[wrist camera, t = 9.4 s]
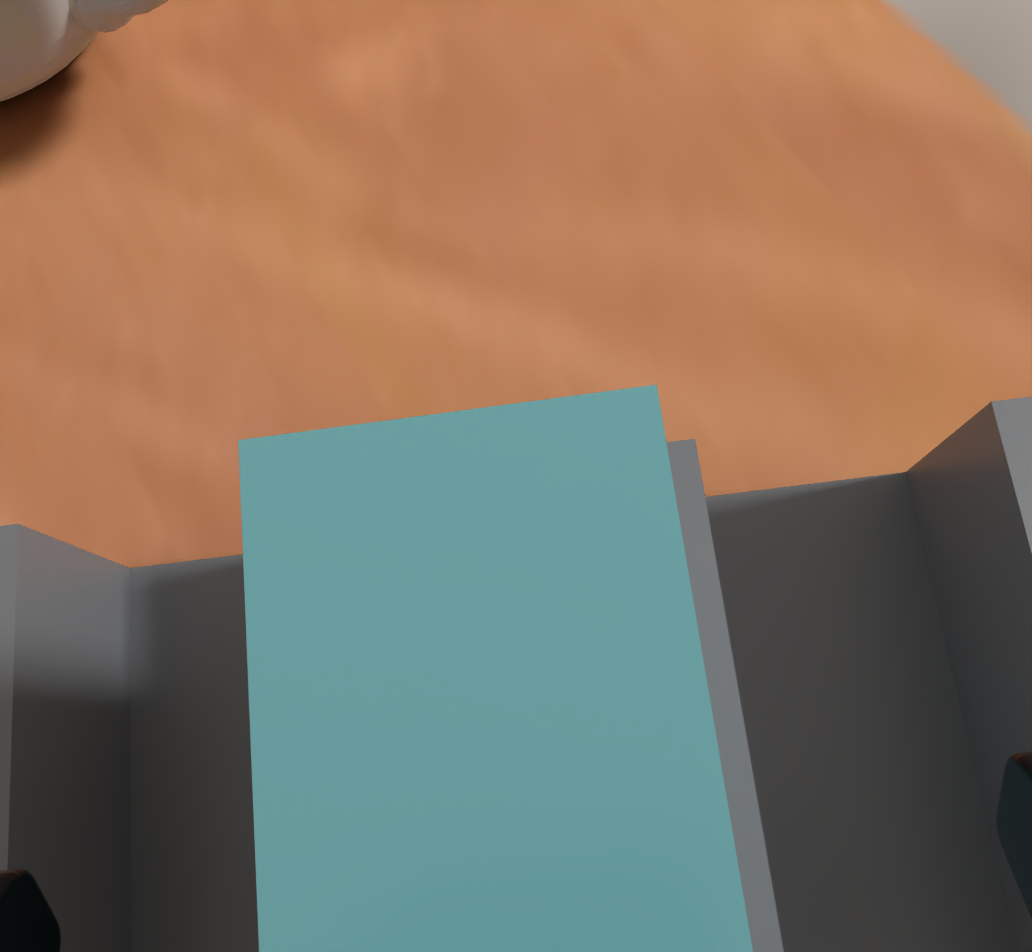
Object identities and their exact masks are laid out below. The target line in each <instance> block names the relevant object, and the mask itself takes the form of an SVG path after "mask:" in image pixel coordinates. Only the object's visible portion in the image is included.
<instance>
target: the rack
mask: <svg viewBox="0 0 1032 952" xmlns="http://www.w3.org/2000/svg"><path fill="white" fill-rule="evenodd" d="M666 443H667V449H668V455H669V461H670V467H671V473H672V479H673V485H674V490H675V496H676V502H677V508H678V514H679V520H680V526H681V532H682V537H683V543H684V549H685V555H686V561H687V567H688V573H689V579H690V584H691V590H692V596H693V602H694V608H695V614H696V620H697V626H698V632H699V637H700V643H701V649H702V655H703V661H704V667H705V673H706V679H707V684H708V690H709V696H710V702H711V708H712V714H713V720H714V726H715V731H716V737H717V743H718V749H719V755H720V761H721V767H722V773H723V778H724V784H725V790H726V796H727V802H728V808H729V814H730V820H731V825H732V831H733V837H734V843H735V849H736V855H737V861H738V867H739V873H740V878H741V884H742V890H743V896H744V902H745V908H746V914H747V920H748V925H749V931H750V937H751V943H752V949H753V952H1032V920H1031V917H1030V915H1029V913H1028V910H1027V908H1026V905H1025V903H1024V900H1023V898H1022V895H1021V893H1020V891H1019V888H1018V886H1017V883H1016V881H1015V878H1014V876H1013V873H1012V871H1011V869H1010V866H1009V864H1008V861H1007V859H1006V856H1005V854H1004V851H1003V849H1002V846H1001V844H1000V841H999V837H998V834H997V828H996V812H997V806H998V800H999V794H1000V789H1001V783H1002V777H1003V771H1004V766H1005V763H1006V761H1007V759H1008V758H1009V757H1010V756H1011V755H1013V754H1016V753H1025V752H1032V397H1024V398H1016V399H1008V400H1000V401H992V402H990V403H989V404H988V405H987V406H985V407H984V408H983V409H982V410H981V411H979V412H978V413H977V414H976V415H975V416H973V417H972V418H971V419H970V420H968V421H967V422H966V423H965V424H964V425H962V426H961V427H960V428H959V429H958V430H956V431H955V432H954V433H953V434H951V435H950V436H949V437H948V438H947V439H945V440H944V441H943V442H942V443H941V444H939V445H938V446H937V447H936V448H935V449H933V450H932V451H931V452H930V453H928V454H927V455H926V456H925V457H924V458H922V459H921V460H920V461H919V462H918V463H916V464H915V465H914V466H913V467H911V468H910V469H909V470H908V471H907V472H903V473H895V474H887V475H879V476H871V477H863V478H855V479H847V480H839V481H831V482H823V483H815V484H806V485H798V486H790V487H782V488H774V489H766V490H758V491H750V492H742V493H734V494H726V495H718V496H710V497H705V494H704V488H703V482H702V476H701V470H700V465H699V459H698V453H697V447H696V442H695V439H690V440H682V441H674V442H666ZM11 869H25V870H26V871H28V872H30V873H31V874H32V875H33V877H34V878H35V880H36V882H37V884H38V886H39V887H40V889H41V891H42V893H43V895H44V897H45V898H46V900H47V902H48V904H49V906H50V908H51V909H52V911H53V913H54V915H55V917H56V919H57V921H58V923H59V927H60V931H61V948H60V952H259V937H258V912H257V887H256V863H255V838H254V813H253V789H252V764H251V739H250V714H249V690H248V665H247V640H246V615H245V591H244V566H243V554H242V555H234V556H226V557H218V558H210V559H201V560H193V561H185V562H177V563H169V564H161V565H153V566H145V567H137V568H128V567H126V566H123V565H121V564H118V563H116V562H113V561H111V560H108V559H106V558H103V557H101V556H98V555H96V554H93V553H90V552H88V551H85V550H83V549H80V548H78V547H75V546H73V545H70V544H68V543H65V542H63V541H60V540H58V539H55V538H53V537H50V536H48V535H45V534H42V533H40V532H37V531H35V530H32V529H30V528H27V527H25V526H22V525H20V524H13V525H5V526H0V871H2V870H11Z"/></svg>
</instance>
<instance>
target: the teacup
mask: <svg viewBox="0 0 1032 952" xmlns="http://www.w3.org/2000/svg"><path fill="white" fill-rule="evenodd" d="M167 1H168V0H0V102H1V101H4V100H7V99H10V98H12V97H14V96H17V95H19V94H21V93H24V92H26V91H28V90H30V89H32V88H34V87H36V86H37V85H39V84H41V83H43V82H45V81H46V80H48V79H49V78H51V77H52V76H53V75H55V74H56V73H58V72H59V71H60V70H62V69H63V68H65V67H66V66H67V65H68V64H69V63H70V62H71V61H73V60H74V59H75V58H76V57H77V56H78V55H79V54H80V53H81V52H82V51H83V50H84V48H85V47H86V46H87V45H88V44H89V43H90V42H91V40H92V39H93V38H94V37H95V35H96V34H97V32H98V31H100V32H111V31H115V30H117V29H119V28H120V27H122V26H124V25H125V24H126V23H127V22H128V21H129V20H130V19H131V18H132V17H133V16H134V15H138V14H143V13H147V12H150V11H151V10H153V9H155V8H157V7H158V6H160V5H162V4H164V3H165V2H167Z"/></svg>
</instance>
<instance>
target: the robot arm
mask: <svg viewBox="0 0 1032 952" xmlns="http://www.w3.org/2000/svg"><path fill="white" fill-rule="evenodd" d="M996 828H997V834H998V837H999V841H1000V844H1001V846H1002V849H1003V851H1004V854H1005V856H1006V859H1007V861H1008V864H1009V866H1010V869H1011V871H1012V873H1013V876H1014V878H1015V881H1016V883H1017V886H1018V888H1019V891H1020V893H1021V895H1022V898H1023V900H1024V903H1025V905H1026V908H1027V910H1028V913H1029V915H1030V917H1031V920H1032V752H1025V753H1016V754H1013V755H1011V756H1010V757H1009V758H1008V759H1007V761H1006V763H1005V766H1004V771H1003V777H1002V783H1001V789H1000V794H999V800H998V806H997V812H996ZM60 948H61V931H60V927H59V923H58V921H57V919H56V917H55V915H54V913H53V911H52V909H51V908H50V906H49V904H48V902H47V900H46V898H45V897H44V895H43V893H42V891H41V889H40V887H39V886H38V884H37V882H36V880H35V878H34V877H33V875H32V874H31V873H30V872H28V871H26V870H25V869H11V870H2V871H0V952H60Z"/></svg>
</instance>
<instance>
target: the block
mask: <svg viewBox="0 0 1032 952" xmlns="http://www.w3.org/2000/svg"><path fill="white" fill-rule="evenodd" d="M238 442H239V467H240V492H241V516H242V541H243V566H244V591H245V615H246V640H247V665H248V690H249V714H250V739H251V764H252V789H253V813H254V838H255V863H256V887H257V912H258V937H259V952H753V949H752V943H751V937H750V931H749V925H748V920H747V914H746V908H745V902H744V896H743V890H742V884H741V878H740V873H739V867H738V861H737V855H736V849H735V843H734V837H733V831H732V825H731V820H730V814H729V808H728V802H727V796H726V790H725V784H724V778H723V773H722V767H721V761H720V755H719V749H718V743H717V737H716V731H715V726H714V720H713V714H712V708H711V702H710V696H709V690H708V684H707V679H706V673H705V667H704V661H703V655H702V649H701V643H700V637H699V632H698V626H697V620H696V614H695V608H694V602H693V596H692V590H691V584H690V579H689V573H688V567H687V561H686V555H685V549H684V543H683V537H682V532H681V526H680V520H679V514H678V508H677V502H676V496H675V490H674V485H673V479H672V473H671V467H670V461H669V455H668V449H667V443H666V438H665V432H664V426H663V420H662V414H661V408H660V402H659V396H658V390H657V385H651V386H644V387H636V388H628V389H621V390H613V391H606V392H598V393H591V394H583V395H576V396H568V397H561V398H553V399H545V400H538V401H530V402H523V403H515V404H508V405H500V406H493V407H485V408H478V409H470V410H463V411H455V412H447V413H440V414H432V415H425V416H417V417H410V418H402V419H395V420H387V421H380V422H372V423H364V424H357V425H349V426H342V427H334V428H327V429H319V430H312V431H304V432H297V433H289V434H281V435H274V436H266V437H259V438H251V439H244V440H238Z"/></svg>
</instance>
